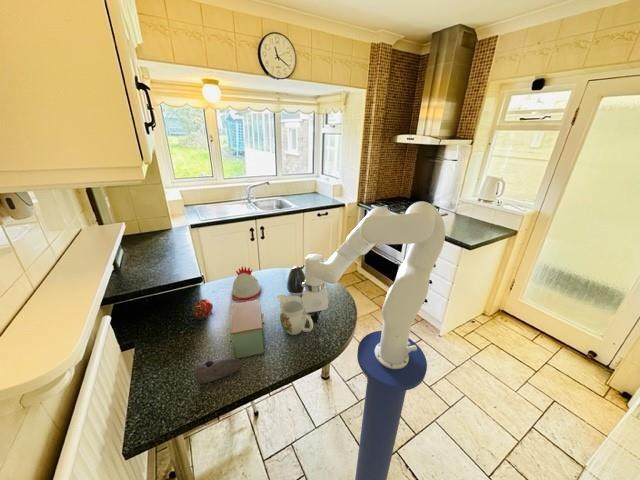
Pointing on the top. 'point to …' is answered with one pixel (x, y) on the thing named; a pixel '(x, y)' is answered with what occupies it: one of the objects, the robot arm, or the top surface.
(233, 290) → the grey rounded dome
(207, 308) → the dragon fruit
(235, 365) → the perforated stone tool
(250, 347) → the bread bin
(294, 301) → the pitcher
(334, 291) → the top surface
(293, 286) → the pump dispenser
